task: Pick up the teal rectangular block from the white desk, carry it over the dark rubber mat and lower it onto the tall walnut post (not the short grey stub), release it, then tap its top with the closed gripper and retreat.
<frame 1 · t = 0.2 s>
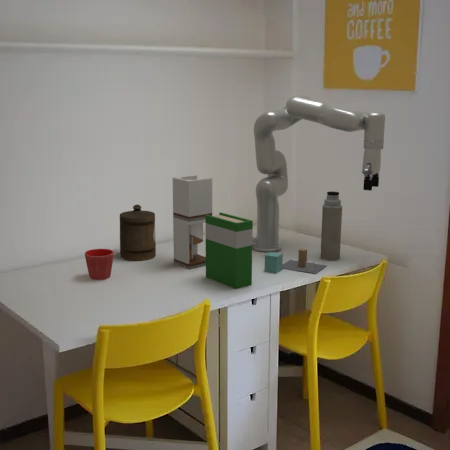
hand: (370, 188, 248), 31 cm above the table, tool pointing down, fingers open, 9 cm apart
post stand: (302, 267, 250), on the table
flower pot: (100, 277, 237), on the table
wooden container: (138, 256, 264), on the table
thermos bottle: (330, 258, 263), on the table
teal rectangular block: (273, 270, 245), on the table
white coffee maker: (193, 264, 254), on the table
hardback book: (228, 281, 233), on the table
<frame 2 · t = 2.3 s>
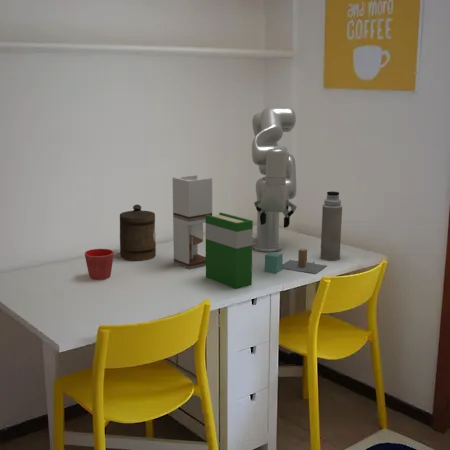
hand: (274, 225, 241), 18 cm above the table, tool pointing down, fingers open, 9 cm apart
nothing on the table moved.
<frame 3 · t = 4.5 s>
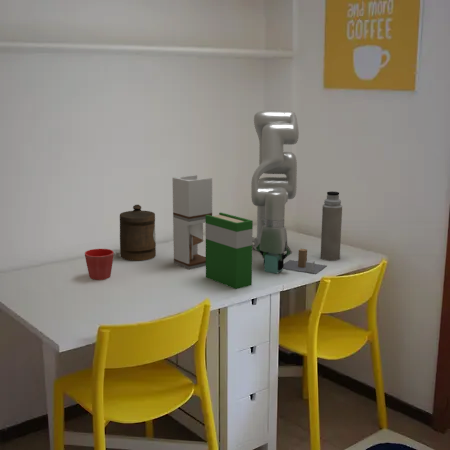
hand: (273, 268, 245), 1 cm above the table, tool pointing down, fingers closed on teal rectangular block, 5 cm apart
teal rectangular block: (273, 270, 245), on the table, touching gripper
everything else where it was.
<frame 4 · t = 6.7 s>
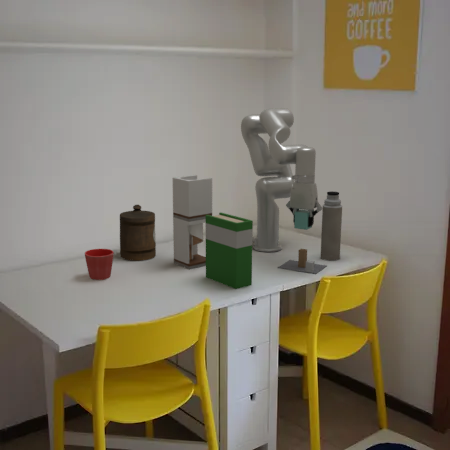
hand: (303, 225, 246), 17 cm above the table, tool pointing down, fingers closed on teal rectangular block, 5 cm apart
teal rectangular block: (303, 227, 246), point 16 cm above the table, touching gripper
everything else where it was.
when the fingers open (3 cm above the table, at t = 9.3 s): teal rectangular block stays where it is, resting on post stand.
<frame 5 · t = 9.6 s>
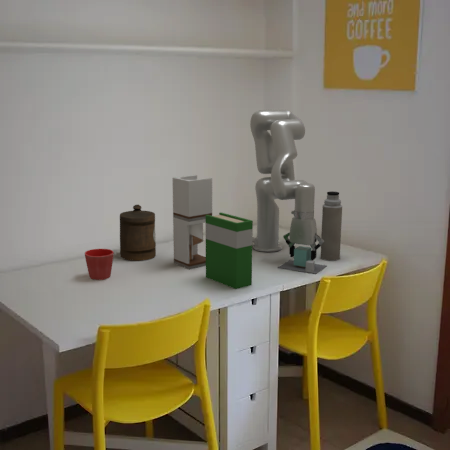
hand: (302, 257, 249), 4 cm above the table, tool pointing down, fingers open, 8 cm apart
teal rectangular block: (302, 264, 250), point 1 cm above the table, touching post stand
everything else where it was.
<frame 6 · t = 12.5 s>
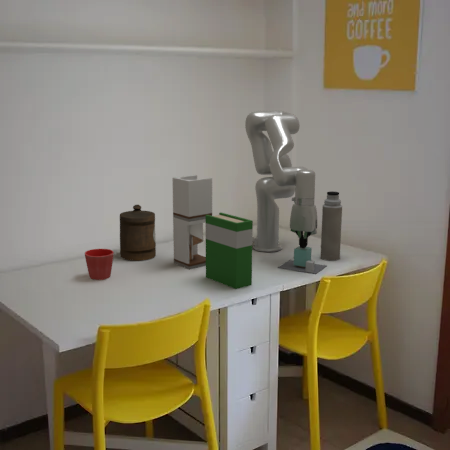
hand: (303, 247, 248), 8 cm above the table, tool pointing down, fingers closed
nothing on the table moved.
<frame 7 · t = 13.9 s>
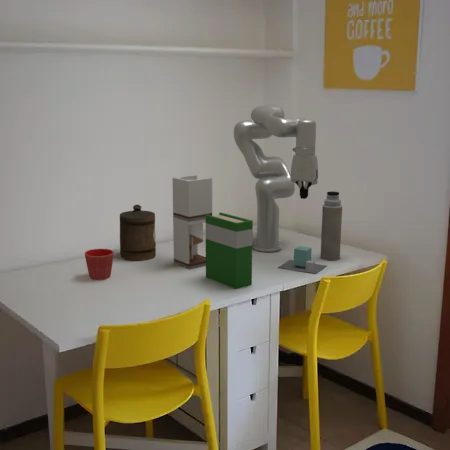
hand: (303, 198, 248), 27 cm above the table, tool pointing down, fingers closed
nothing on the table moved.
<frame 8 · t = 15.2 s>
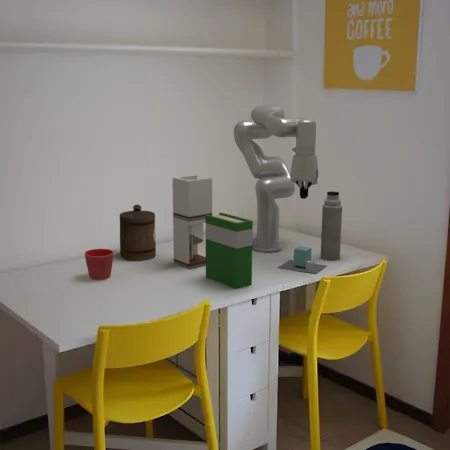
hand: (303, 198, 248), 27 cm above the table, tool pointing down, fingers closed
nothing on the table moved.
at the end: teal rectangular block 0.1 cm from the post stand (horizontally); teal rectangular block point 1.1 cm above the table; the gripper is holding nothing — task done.
